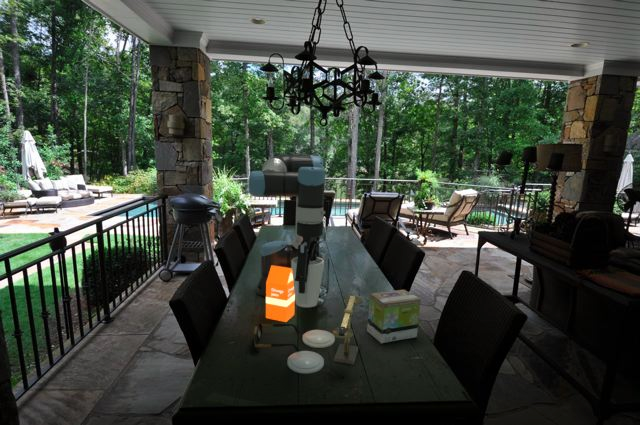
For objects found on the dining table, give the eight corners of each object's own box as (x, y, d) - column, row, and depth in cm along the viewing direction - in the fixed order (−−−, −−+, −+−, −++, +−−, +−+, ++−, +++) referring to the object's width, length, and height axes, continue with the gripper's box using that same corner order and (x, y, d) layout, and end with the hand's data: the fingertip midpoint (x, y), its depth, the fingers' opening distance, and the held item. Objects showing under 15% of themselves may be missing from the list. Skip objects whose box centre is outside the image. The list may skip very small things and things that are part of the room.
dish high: (298, 344, 120) (298, 341, 120) (307, 329, 130) (307, 326, 130) (330, 350, 117) (330, 346, 117) (337, 334, 128) (337, 331, 127)
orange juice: (286, 322, 136) (287, 271, 133) (265, 318, 139) (265, 267, 136) (294, 314, 143) (295, 265, 140) (274, 310, 146) (275, 262, 143)
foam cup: (318, 311, 101) (320, 266, 99) (286, 307, 103) (287, 263, 101) (324, 298, 110) (326, 257, 108) (295, 295, 112) (296, 254, 110)
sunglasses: (300, 354, 115) (300, 339, 114) (251, 355, 113) (251, 340, 113) (299, 333, 128) (299, 320, 128) (255, 333, 127) (256, 320, 126)
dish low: (282, 369, 105) (282, 365, 105) (294, 350, 116) (294, 347, 116) (318, 376, 103) (318, 372, 103) (327, 356, 113) (327, 353, 113)
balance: (343, 338, 125) (345, 291, 123) (360, 340, 124) (363, 293, 121) (329, 373, 105) (331, 317, 102) (349, 376, 103) (352, 320, 101)
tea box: (382, 345, 122) (384, 303, 119) (366, 331, 131) (368, 292, 129) (418, 337, 128) (421, 297, 125) (400, 325, 137) (403, 287, 135)
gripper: (311, 229, 91) (309, 313, 95) (331, 216, 113) (328, 285, 116) (283, 227, 93) (282, 309, 97) (308, 215, 114) (306, 282, 118)
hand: (307, 296), depth 106 cm, fingers closed on foam cup, 9 cm apart
